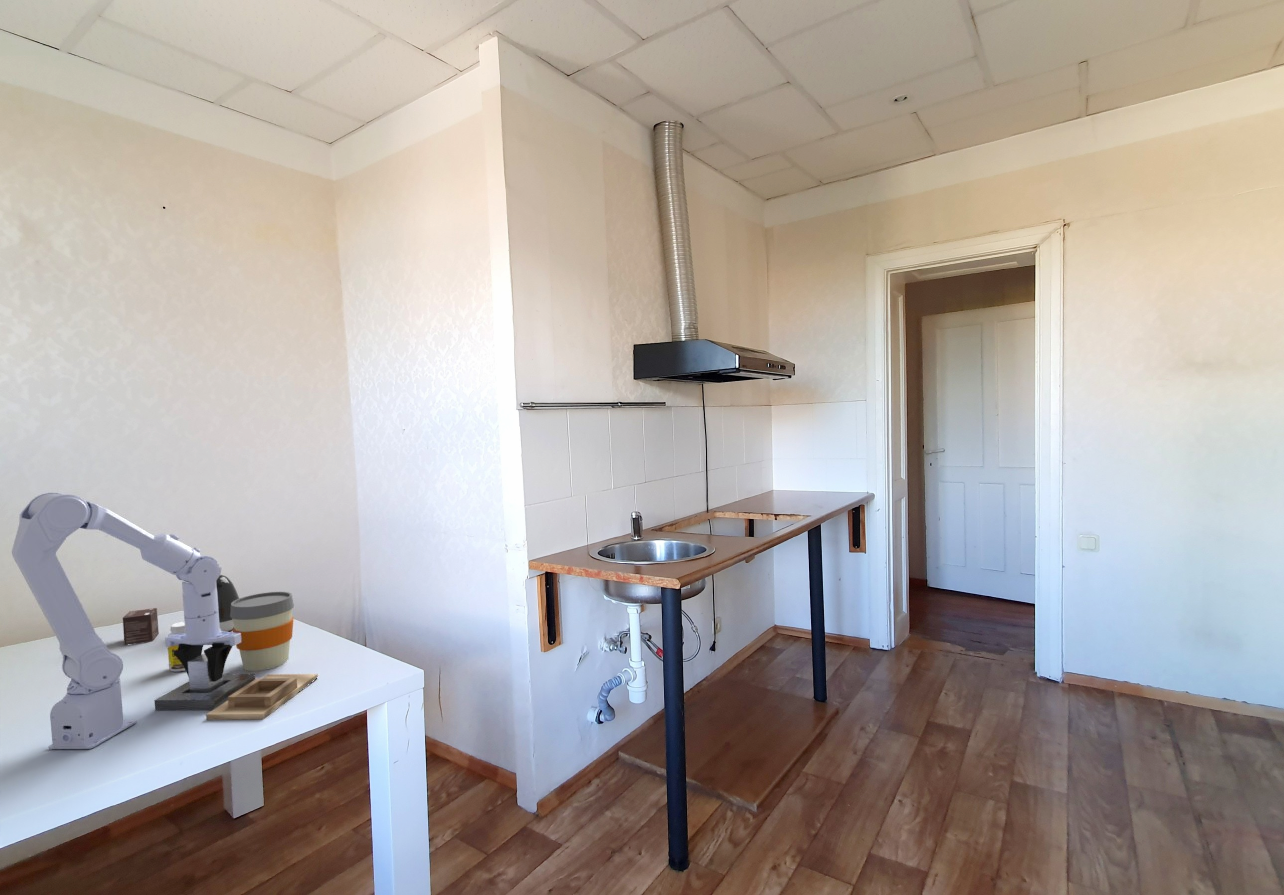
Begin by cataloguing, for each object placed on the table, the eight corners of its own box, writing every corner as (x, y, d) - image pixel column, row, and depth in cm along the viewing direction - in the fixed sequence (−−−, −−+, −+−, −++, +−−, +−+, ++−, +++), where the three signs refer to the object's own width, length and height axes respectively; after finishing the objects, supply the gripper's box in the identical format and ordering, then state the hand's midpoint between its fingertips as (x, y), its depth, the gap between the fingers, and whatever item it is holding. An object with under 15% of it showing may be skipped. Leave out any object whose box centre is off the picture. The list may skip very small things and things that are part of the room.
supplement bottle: (168, 674, 140) (165, 629, 140) (170, 666, 145) (167, 623, 144) (199, 668, 143) (195, 624, 143) (200, 661, 148) (196, 618, 147)
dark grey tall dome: (201, 640, 162) (197, 582, 161) (195, 631, 170) (191, 575, 169) (247, 630, 169) (243, 574, 168) (239, 621, 177) (235, 568, 176)
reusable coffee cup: (308, 658, 147) (304, 594, 146) (252, 678, 136) (248, 610, 136) (278, 649, 154) (274, 588, 153) (222, 668, 143) (218, 603, 142)
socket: (214, 709, 122) (213, 699, 122) (155, 710, 122) (154, 700, 122) (255, 683, 134) (254, 673, 134) (201, 683, 134) (200, 674, 134)
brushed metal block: (209, 700, 126) (206, 661, 126) (190, 700, 126) (187, 661, 126) (224, 691, 130) (221, 653, 130) (205, 691, 130) (202, 654, 130)
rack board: (263, 719, 117) (262, 703, 117) (206, 719, 118) (205, 703, 118) (317, 678, 135) (317, 664, 135) (268, 679, 136) (267, 665, 136)
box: (131, 638, 166) (129, 611, 165) (159, 634, 168) (157, 607, 168) (123, 645, 160) (121, 617, 160) (153, 641, 163) (150, 613, 162)
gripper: (249, 607, 131) (253, 671, 132) (182, 608, 132) (187, 672, 132) (225, 618, 124) (230, 685, 124) (154, 619, 125) (160, 686, 125)
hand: (206, 679), depth 128 cm, fingers closed on brushed metal block, 4 cm apart
